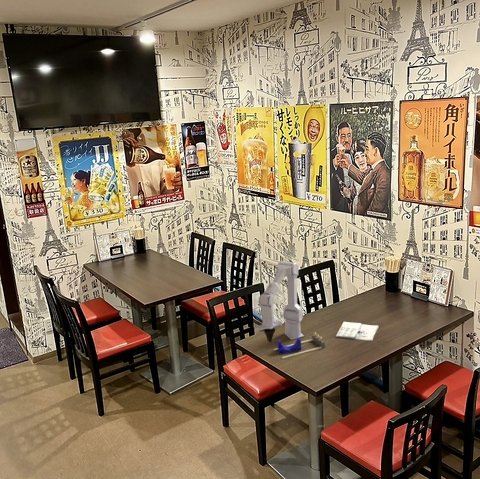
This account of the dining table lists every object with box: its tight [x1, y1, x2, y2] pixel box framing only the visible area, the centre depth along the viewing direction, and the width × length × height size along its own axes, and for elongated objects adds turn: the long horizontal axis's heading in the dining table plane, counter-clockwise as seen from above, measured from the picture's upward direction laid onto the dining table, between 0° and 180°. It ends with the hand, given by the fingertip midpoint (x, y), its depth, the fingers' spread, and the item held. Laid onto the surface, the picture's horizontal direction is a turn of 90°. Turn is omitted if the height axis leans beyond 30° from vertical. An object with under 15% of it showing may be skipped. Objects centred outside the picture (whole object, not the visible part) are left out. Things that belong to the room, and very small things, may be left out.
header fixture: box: [273, 332, 326, 360], centre depth 260 cm, size 11×24×5 cm, turn 110°
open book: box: [335, 321, 380, 342], centre depth 273 cm, size 19×20×2 cm
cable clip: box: [276, 337, 302, 355], centre depth 259 cm, size 12×4×6 cm, turn 94°
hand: (269, 341), depth 253 cm, fingers closed
